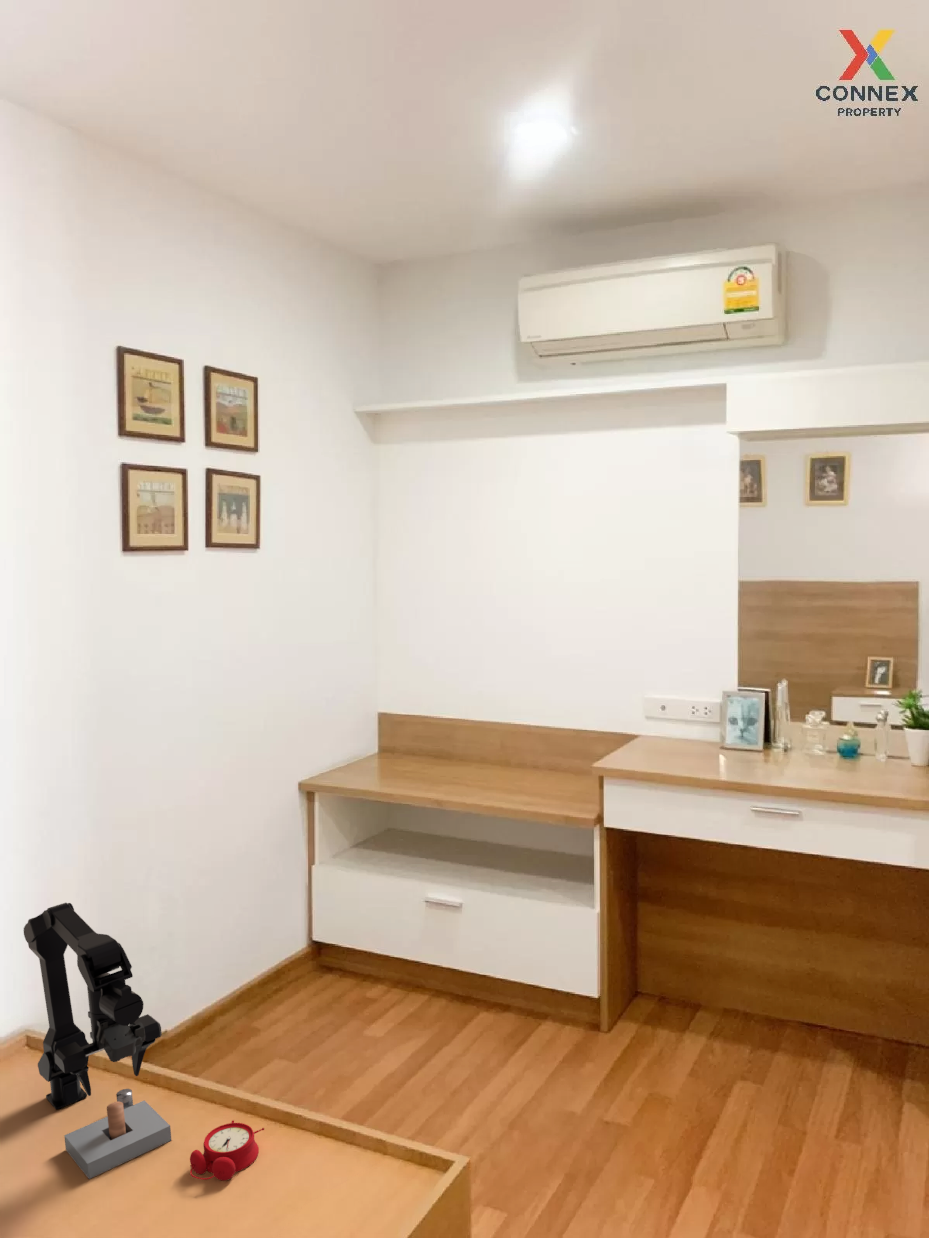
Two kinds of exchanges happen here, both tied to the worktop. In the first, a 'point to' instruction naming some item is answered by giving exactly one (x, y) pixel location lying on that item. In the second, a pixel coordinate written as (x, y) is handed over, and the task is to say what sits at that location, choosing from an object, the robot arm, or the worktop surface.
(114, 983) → the robot arm
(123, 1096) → the short stub
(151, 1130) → the block
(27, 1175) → the worktop surface
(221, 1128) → the alarm clock
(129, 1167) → the worktop surface
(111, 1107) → the long dowel
